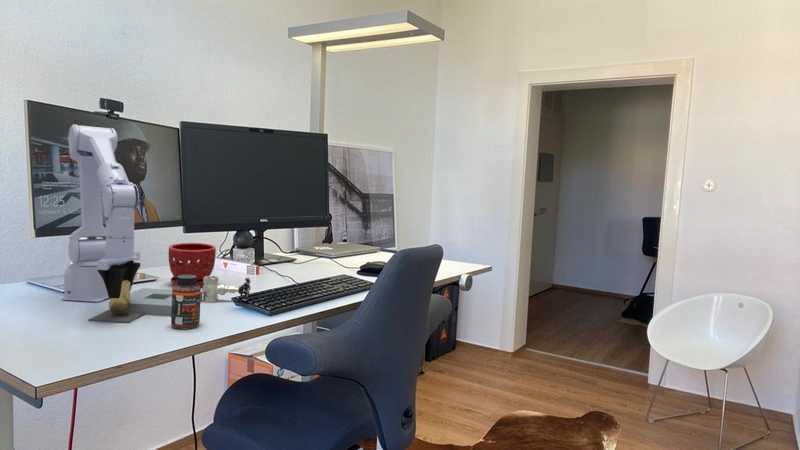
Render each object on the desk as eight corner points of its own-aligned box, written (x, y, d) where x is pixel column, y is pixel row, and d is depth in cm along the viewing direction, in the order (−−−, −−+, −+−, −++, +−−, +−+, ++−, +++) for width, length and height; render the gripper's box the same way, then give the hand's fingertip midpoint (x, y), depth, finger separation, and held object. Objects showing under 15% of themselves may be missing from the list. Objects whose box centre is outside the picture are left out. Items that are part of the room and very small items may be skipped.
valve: (199, 304, 138) (246, 305, 140) (200, 279, 137) (247, 280, 139) (204, 298, 144) (250, 299, 146) (205, 274, 144) (250, 275, 146)
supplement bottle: (182, 331, 114) (183, 279, 113) (165, 326, 117) (166, 275, 116) (205, 325, 119) (206, 276, 118) (188, 320, 122) (189, 272, 121)
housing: (109, 312, 125) (109, 302, 125) (142, 297, 141) (142, 288, 141) (176, 316, 125) (176, 306, 125) (202, 300, 141) (202, 291, 141)
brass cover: (106, 313, 120) (107, 281, 119) (115, 308, 124) (115, 278, 123) (125, 314, 120) (125, 282, 119) (132, 309, 124) (133, 278, 123)
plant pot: (158, 284, 157) (159, 244, 156) (196, 279, 168) (197, 241, 167) (186, 292, 150) (187, 250, 149) (224, 285, 161) (225, 246, 160)
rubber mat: (88, 320, 118) (88, 319, 118) (110, 310, 127) (110, 309, 127) (128, 323, 118) (128, 321, 118) (147, 312, 127) (148, 311, 127)
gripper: (120, 241, 113) (119, 304, 114) (152, 234, 128) (151, 290, 129) (87, 240, 113) (87, 302, 114) (123, 233, 128) (122, 288, 129)
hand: (119, 295), depth 122 cm, fingers closed on brass cover, 4 cm apart
